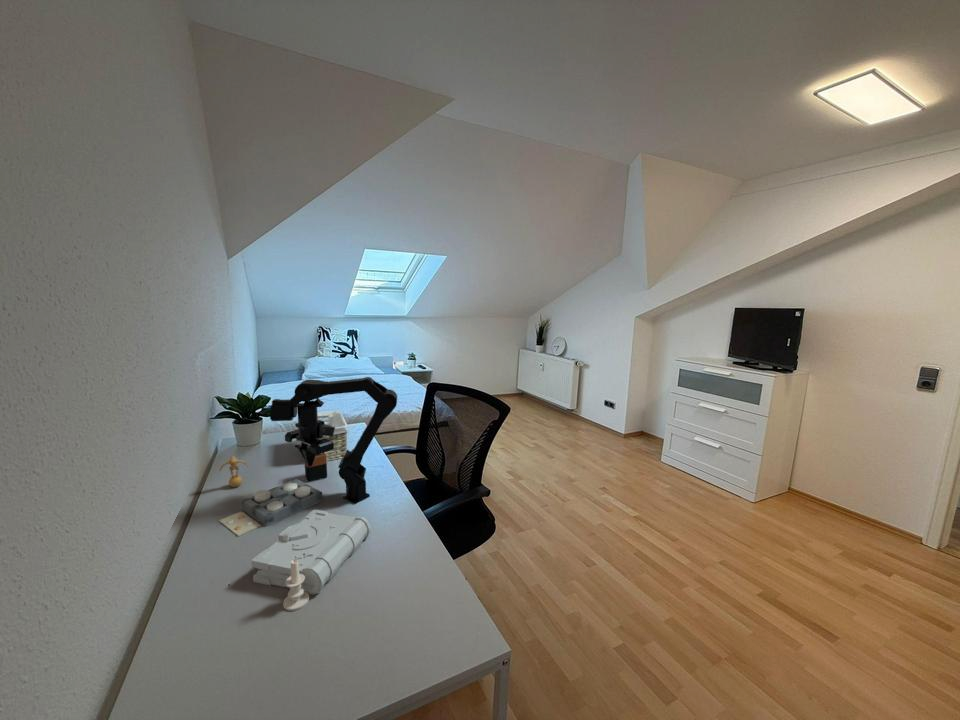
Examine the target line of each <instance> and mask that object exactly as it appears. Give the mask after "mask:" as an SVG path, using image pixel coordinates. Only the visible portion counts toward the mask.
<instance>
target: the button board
mask: <svg viewBox="0 0 960 720" xmlns="http://www.w3.org/2000/svg"><path fill="white" fill-rule="evenodd" d="M289 483H296V484H297V486H298V488H299V487H303V486H308V487H310V496H307V497H305V498H303V499H298V498H296V497H295V490H296V489H294V490H292V491H289V492H285V491H283V486H284V485H286V484H289ZM268 490H269V491H270V497H271V498H270V500H267V501H265V502H263V503H256V502H255V500H254V495H252V496H250V497H246V498H244V499H242V500H241V508H242V510H243V511H244V512H246V513H247V514H248V515H250V516H251V517H253V518H254V519H255V520H257V521H258V522H260V523H261V524H263V525H264V526H266V527H269V526H270V525H274V524H275V523H277V522H279V521H282V520H284V519H286V518H288V517H290V516H292V515H294V514H296V513H299V512H300V511H303V510H306V509H307V508H310V507H312V506H314V505H316V504H319V503H321V502H322V501H323V499H324V498H323V492H322V491H320V490H319V489H317V488H315V487H313V486H311V485H309V484H307V483H305V482H304V481H302V480H299V479H298V478H297V479H294V480H291V481H289V482H286V483H283V484H280V485H277V486H275V487H273V488H270V489H268ZM275 501H281V502H283V507H282V508H280V509H278V510H275V511H273V512H270V511H268V510H267V505H268V504H269V503H272V502H275Z"/></svg>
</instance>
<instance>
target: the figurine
mask: <svg viewBox="0 0 960 720" xmlns="http://www.w3.org/2000/svg"><path fill="white" fill-rule="evenodd" d="M238 463H240V464H241V463H243V464H244V465H245V466H246V467H249V465H248V464H247V463H246V462H245V461H244V460H239V459H237V458H236V457H235V456H234V455H232V456H231V458H230V460H228V461H226V462H224V463H222V464H221V466H220V468H219V471H222V468H223V467H225V465H230V466H229V467H228V468H229V471H230V474H231V477H230V478H229V480H228V485H229V486H230V487H232V488H237V487H240V486H241V485H242V483H243V477H242V476H240V475H239V470H240V468H239V465H237V464H238ZM234 470H235V471H236V472H235V473H236V475H234V472H233V471H234Z"/></svg>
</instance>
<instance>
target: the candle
mask: <svg viewBox="0 0 960 720" xmlns="http://www.w3.org/2000/svg"><path fill="white" fill-rule="evenodd" d="M304 580H305V576H304V575H303V574H299V566H298V561H297V560H292V561H291V576H290V577H289V578H287V580H286V582H285V584H286V585H287V586H289V587H290V588H289V590H288V592H287V596H286V597H285V598H284V600H283V602H282V606H283V608H284V610H286V611H289V612H291V611H292V612H293V611H298V610H300V609H302V608H304V607H305V606H306V605H307V604H308V603H309V600H310V594H309V593H307V592H305V591H304V589H303V587H301V583H302V582H303V581H304Z"/></svg>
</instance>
